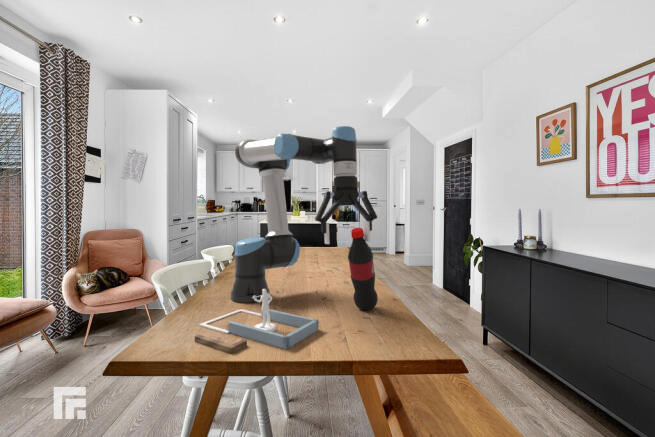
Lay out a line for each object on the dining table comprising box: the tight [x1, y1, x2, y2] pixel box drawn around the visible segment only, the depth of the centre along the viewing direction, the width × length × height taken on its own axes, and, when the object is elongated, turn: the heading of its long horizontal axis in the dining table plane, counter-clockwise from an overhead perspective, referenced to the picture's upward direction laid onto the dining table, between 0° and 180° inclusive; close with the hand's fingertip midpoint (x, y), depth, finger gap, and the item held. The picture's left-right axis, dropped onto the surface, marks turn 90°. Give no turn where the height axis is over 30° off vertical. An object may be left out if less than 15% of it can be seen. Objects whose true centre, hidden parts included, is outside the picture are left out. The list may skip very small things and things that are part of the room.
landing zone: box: [198, 308, 262, 335], centre depth 105 cm, size 12×17×1 cm
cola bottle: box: [347, 227, 379, 311], centre depth 112 cm, size 8×8×30 cm
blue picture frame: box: [227, 308, 320, 350], centre depth 96 cm, size 21×15×3 cm
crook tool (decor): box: [194, 334, 248, 355], centre depth 88 cm, size 14×5×1 cm, turn 59°
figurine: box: [252, 289, 277, 332], centre depth 98 cm, size 7×7×12 cm
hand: (347, 242), depth 105 cm, fingers open, 13 cm apart
